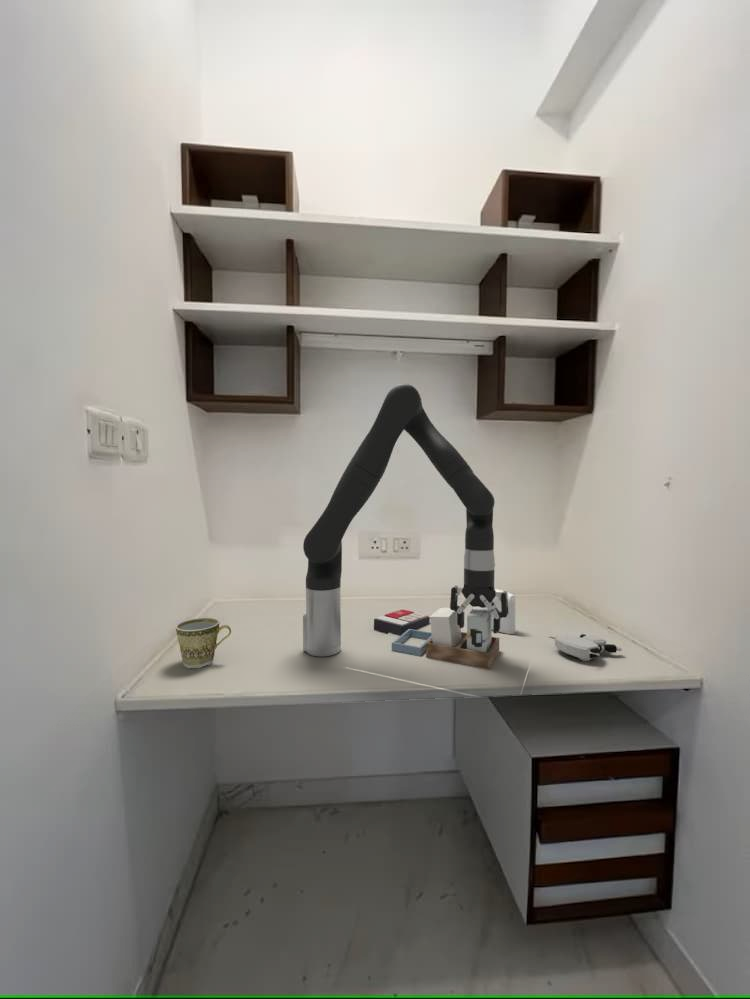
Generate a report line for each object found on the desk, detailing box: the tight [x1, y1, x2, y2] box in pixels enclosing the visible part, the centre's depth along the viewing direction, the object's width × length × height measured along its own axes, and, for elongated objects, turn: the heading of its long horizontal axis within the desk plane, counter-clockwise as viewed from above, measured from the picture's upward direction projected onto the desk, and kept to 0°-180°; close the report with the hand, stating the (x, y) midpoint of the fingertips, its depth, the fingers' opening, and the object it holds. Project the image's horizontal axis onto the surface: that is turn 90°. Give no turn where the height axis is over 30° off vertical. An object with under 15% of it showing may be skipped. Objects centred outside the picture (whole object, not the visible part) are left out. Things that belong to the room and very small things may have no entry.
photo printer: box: [484, 588, 516, 635], centre depth 129 cm, size 10×4×12 cm, turn 44°
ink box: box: [466, 606, 493, 653], centre depth 108 cm, size 9×5×12 cm, turn 154°
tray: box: [391, 629, 432, 657], centre depth 116 cm, size 8×12×2 cm
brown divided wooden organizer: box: [425, 631, 500, 670], centre depth 110 cm, size 16×12×4 cm
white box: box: [429, 607, 462, 647], centre depth 112 cm, size 5×9×10 cm, turn 154°
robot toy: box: [547, 633, 623, 662], centre depth 111 cm, size 12×4×15 cm
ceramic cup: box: [175, 617, 232, 670], centre depth 105 cm, size 13×10×10 cm
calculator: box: [373, 609, 431, 637], centre depth 132 cm, size 11×4×15 cm
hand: (478, 629), depth 108 cm, fingers open, 8 cm apart
